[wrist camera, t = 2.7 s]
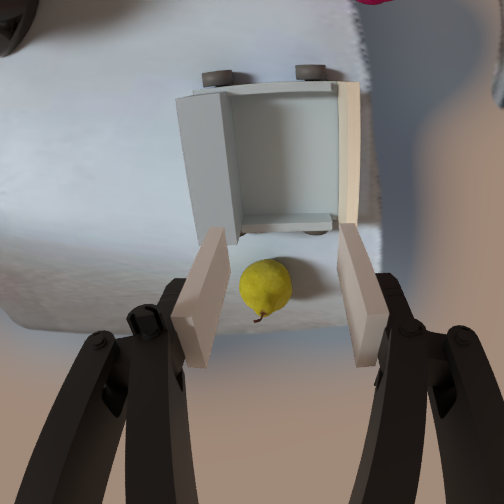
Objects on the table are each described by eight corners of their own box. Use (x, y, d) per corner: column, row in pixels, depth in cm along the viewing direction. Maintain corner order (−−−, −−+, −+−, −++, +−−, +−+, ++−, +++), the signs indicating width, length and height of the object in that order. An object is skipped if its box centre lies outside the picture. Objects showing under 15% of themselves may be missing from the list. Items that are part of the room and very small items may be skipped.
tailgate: (337, 221, 36) (344, 258, 29) (337, 81, 28) (346, 82, 21) (348, 221, 36) (356, 258, 29) (348, 81, 28) (361, 82, 21)
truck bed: (218, 226, 41) (202, 264, 34) (198, 75, 31) (172, 75, 24) (333, 223, 40) (344, 261, 32) (331, 66, 30) (346, 62, 22)
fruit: (296, 285, 45) (298, 347, 35) (251, 294, 47) (242, 356, 37) (284, 244, 42) (283, 304, 32) (236, 256, 44) (221, 315, 33)
